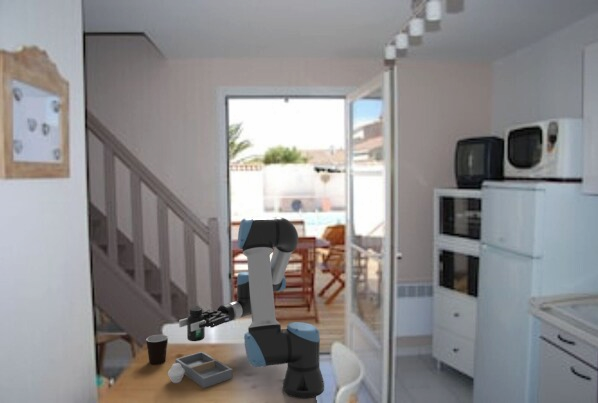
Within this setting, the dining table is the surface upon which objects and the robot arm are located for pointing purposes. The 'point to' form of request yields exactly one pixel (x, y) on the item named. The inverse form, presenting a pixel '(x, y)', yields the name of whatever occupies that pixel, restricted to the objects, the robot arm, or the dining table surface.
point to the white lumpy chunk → (176, 373)
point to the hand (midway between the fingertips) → (185, 325)
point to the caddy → (204, 369)
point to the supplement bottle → (193, 318)
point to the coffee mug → (157, 349)
